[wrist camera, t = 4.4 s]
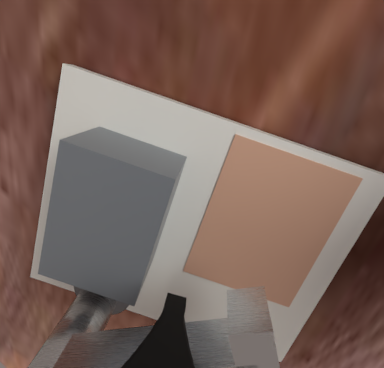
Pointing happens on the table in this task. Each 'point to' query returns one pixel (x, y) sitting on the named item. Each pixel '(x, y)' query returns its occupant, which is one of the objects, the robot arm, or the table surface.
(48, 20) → the table surface
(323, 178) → the board
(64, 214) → the grey rectangular block
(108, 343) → the latch
